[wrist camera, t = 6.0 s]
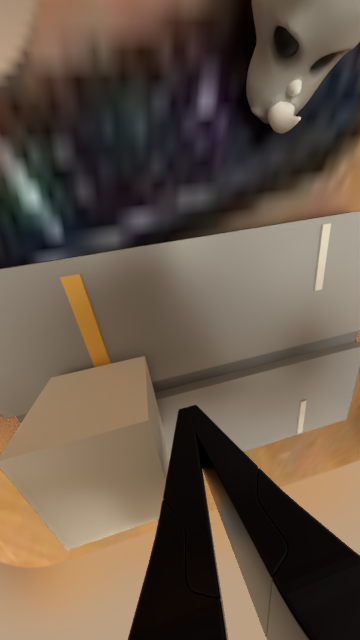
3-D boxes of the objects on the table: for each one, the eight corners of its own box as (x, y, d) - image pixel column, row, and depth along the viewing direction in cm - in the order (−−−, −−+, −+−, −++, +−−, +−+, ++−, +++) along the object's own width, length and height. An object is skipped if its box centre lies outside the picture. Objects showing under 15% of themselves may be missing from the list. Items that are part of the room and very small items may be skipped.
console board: (346, 212, 11) (404, 204, 9) (317, 394, 17) (348, 421, 14) (-29, 273, 9) (-94, 284, 6) (77, 464, 14) (64, 510, 12)
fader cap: (144, 347, 9) (148, 420, 6) (162, 420, 11) (175, 513, 7) (58, 366, 9) (-5, 462, 5) (92, 440, 11) (66, 550, 7)
